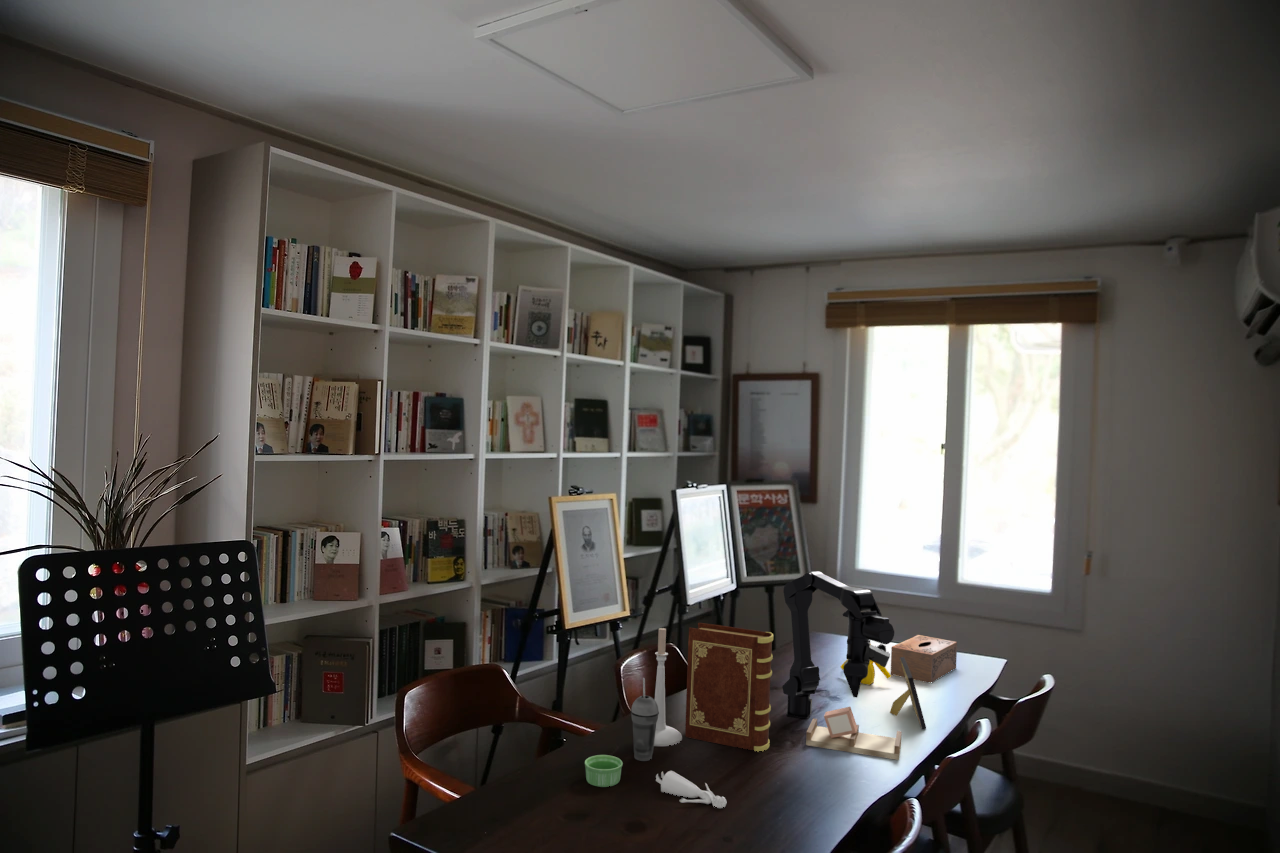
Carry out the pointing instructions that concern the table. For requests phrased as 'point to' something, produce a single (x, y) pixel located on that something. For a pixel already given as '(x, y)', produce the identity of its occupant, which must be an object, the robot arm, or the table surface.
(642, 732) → the beverage cup
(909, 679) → the picture frame
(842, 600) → the robot arm
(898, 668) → the tissue box cover
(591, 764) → the ramekin
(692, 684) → the decorative book
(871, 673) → the figure statuette
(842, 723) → the frame block
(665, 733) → the candlestick
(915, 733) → the table surface
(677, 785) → the woman figurine
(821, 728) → the ledge
